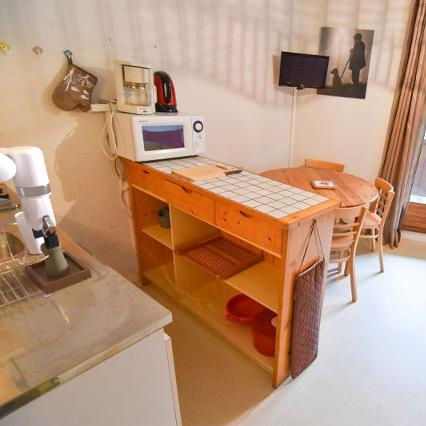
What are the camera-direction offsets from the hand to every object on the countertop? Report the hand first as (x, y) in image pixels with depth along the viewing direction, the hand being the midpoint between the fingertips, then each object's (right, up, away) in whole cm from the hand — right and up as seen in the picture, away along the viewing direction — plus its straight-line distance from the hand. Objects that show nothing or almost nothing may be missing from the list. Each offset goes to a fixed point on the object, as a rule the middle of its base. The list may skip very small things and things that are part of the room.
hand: (46, 242), depth 98 cm
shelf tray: (-1, -11, +5) cm, 12 cm away
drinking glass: (-17, -5, +17) cm, 24 cm away
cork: (-1, -10, +5) cm, 11 cm away
